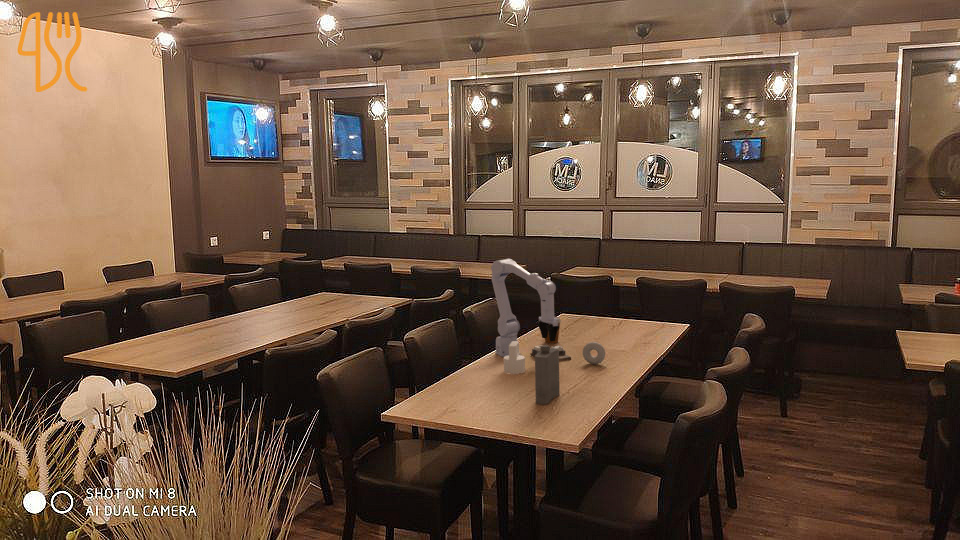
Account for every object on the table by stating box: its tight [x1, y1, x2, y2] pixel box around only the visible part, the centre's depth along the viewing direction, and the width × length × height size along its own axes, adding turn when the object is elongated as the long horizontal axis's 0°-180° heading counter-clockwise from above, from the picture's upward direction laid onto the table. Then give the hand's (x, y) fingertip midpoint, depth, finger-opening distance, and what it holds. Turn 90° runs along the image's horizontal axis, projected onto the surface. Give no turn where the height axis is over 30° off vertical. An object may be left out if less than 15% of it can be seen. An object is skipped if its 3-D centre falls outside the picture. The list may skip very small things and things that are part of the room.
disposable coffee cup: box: [544, 316, 562, 344], centre depth 358 cm, size 10×10×12 cm
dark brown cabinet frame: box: [529, 348, 572, 362], centre depth 328 cm, size 13×15×3 cm
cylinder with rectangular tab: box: [503, 340, 526, 375], centre depth 307 cm, size 9×9×12 cm
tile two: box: [550, 345, 564, 351], centre depth 330 cm, size 4×4×2 cm
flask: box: [534, 344, 561, 406], centre depth 268 cm, size 15×6×20 cm, turn 153°
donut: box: [582, 341, 606, 365], centre depth 314 cm, size 10×3×10 cm, turn 67°
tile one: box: [533, 344, 543, 351], centre depth 332 cm, size 4×4×2 cm
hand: (548, 339), depth 322 cm, fingers open, 7 cm apart
